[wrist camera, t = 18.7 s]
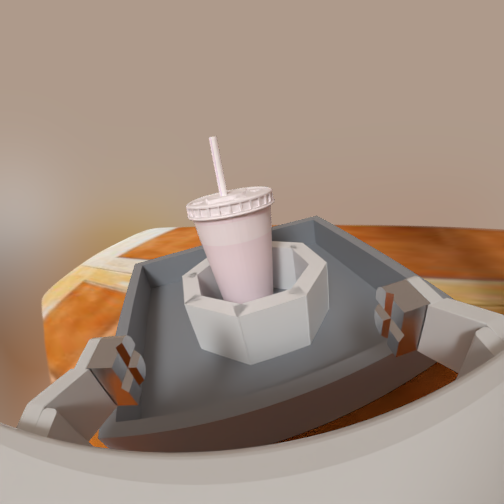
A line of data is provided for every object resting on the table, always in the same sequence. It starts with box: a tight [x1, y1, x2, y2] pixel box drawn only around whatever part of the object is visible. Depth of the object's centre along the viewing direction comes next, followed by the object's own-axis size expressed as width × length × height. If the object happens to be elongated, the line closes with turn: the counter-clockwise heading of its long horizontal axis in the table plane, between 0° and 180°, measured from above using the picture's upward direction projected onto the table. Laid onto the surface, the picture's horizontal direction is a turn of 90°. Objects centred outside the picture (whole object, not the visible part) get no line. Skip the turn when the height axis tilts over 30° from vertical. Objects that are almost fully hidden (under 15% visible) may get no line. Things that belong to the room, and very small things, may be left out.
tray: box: [98, 216, 454, 453], centre depth 22 cm, size 22×22×5 cm
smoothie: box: [186, 136, 275, 304], centre depth 21 cm, size 6×6×14 cm
